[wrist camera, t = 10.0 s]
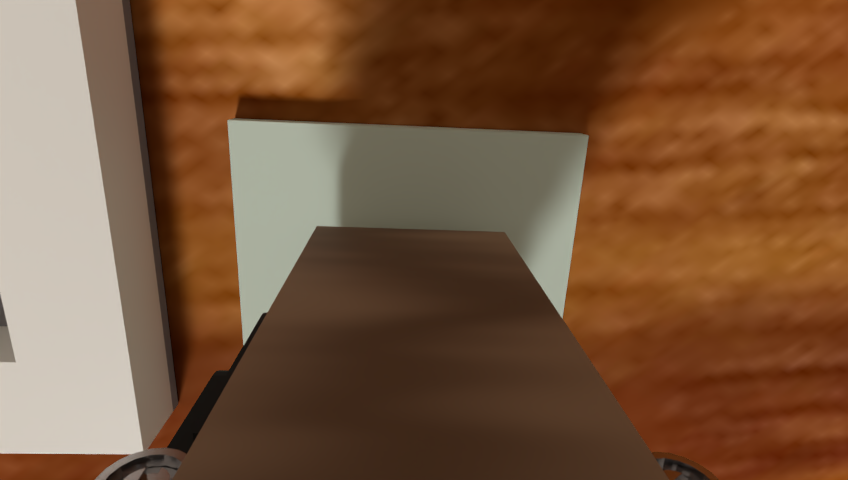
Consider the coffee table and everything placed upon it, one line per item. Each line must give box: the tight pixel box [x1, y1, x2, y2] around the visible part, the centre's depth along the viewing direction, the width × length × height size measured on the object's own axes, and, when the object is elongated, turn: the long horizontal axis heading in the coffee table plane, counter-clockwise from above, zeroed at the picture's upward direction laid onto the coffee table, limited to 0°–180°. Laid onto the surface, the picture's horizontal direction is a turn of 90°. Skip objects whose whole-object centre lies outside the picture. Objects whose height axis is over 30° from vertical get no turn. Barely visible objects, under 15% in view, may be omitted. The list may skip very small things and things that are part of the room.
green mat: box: [228, 118, 589, 345], centre depth 16 cm, size 10×10×1 cm
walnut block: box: [172, 226, 669, 480], centre depth 9 cm, size 5×5×10 cm
